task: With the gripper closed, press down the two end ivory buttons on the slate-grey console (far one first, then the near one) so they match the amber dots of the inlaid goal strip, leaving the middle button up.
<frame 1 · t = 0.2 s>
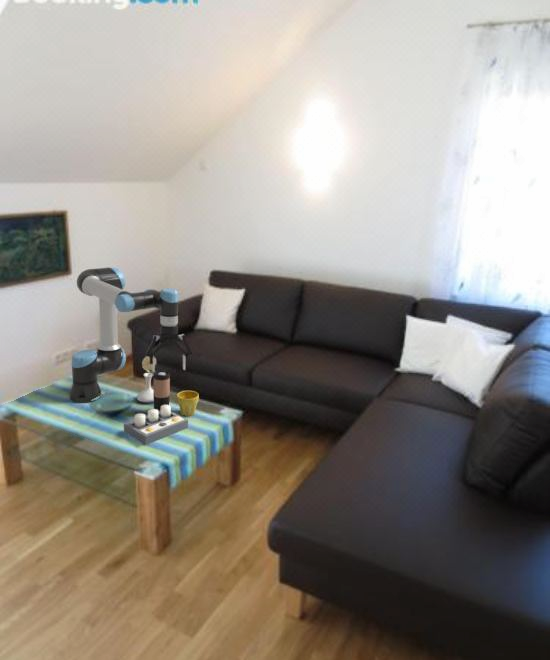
hand: (168, 369, 223), 26 cm above the table, fingers open, 13 cm apart
plant pot: (187, 413, 241), on the table
button 2: (153, 416, 222), point 6 cm above the table, slide at 0.0 cm
button 3: (165, 411, 228), point 6 cm above the table, slide at 0.0 cm
goal strip: (162, 433, 220), resting on console
console: (156, 429, 222), on the table
flower in vase: (149, 400, 252), on the table
button 1: (139, 420, 217), point 6 cm above the table, slide at 0.0 cm
travel mug: (161, 411, 241), on the table
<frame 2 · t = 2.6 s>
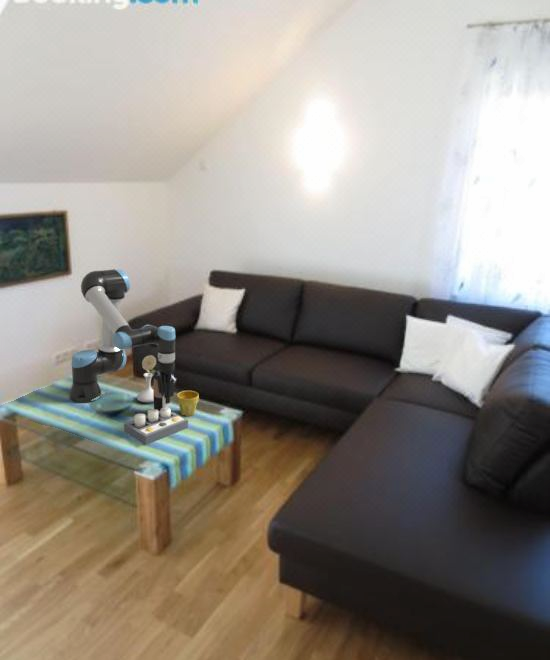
hand: (165, 409, 227), 7 cm above the table, fingers closed
button 3: (165, 414, 228), point 4 cm above the table, slide at 1.4 cm, touching gripper
everything else where it was.
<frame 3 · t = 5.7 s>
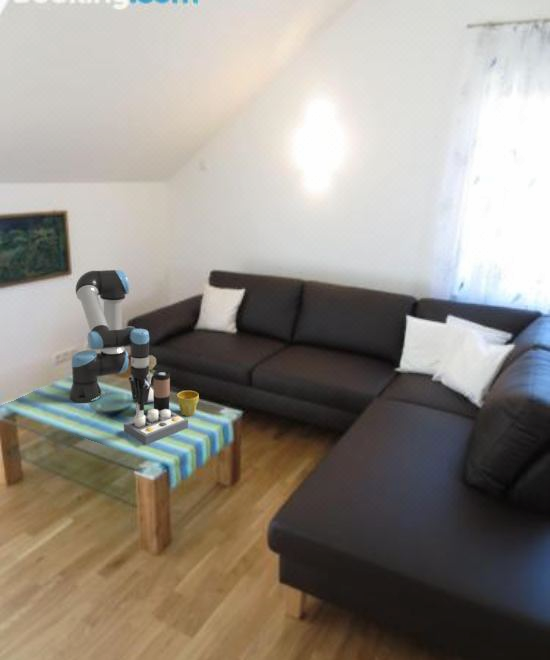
hand: (140, 416, 216), 8 cm above the table, fingers closed
button 3: (165, 416, 228), point 4 cm above the table, slide at 2.3 cm
button 1: (139, 421, 217), point 5 cm above the table, slide at 0.4 cm, touching gripper
everything else where it was.
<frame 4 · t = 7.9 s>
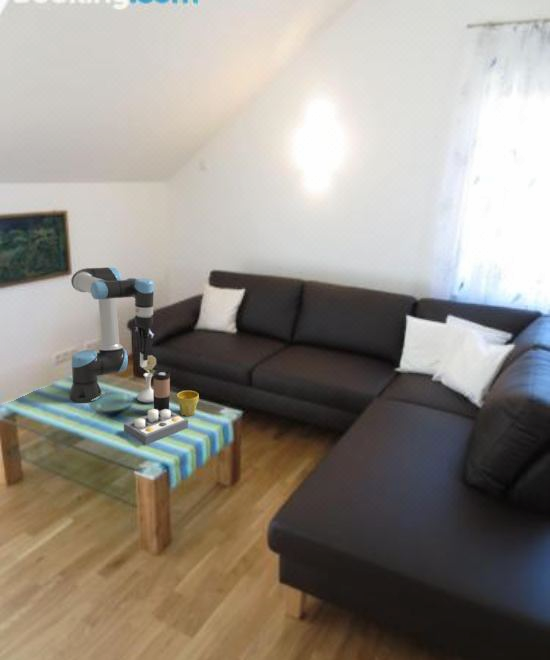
hand: (143, 366, 219), 28 cm above the table, fingers closed
button 1: (139, 425, 218), point 4 cm above the table, slide at 2.3 cm
everything else where it was.
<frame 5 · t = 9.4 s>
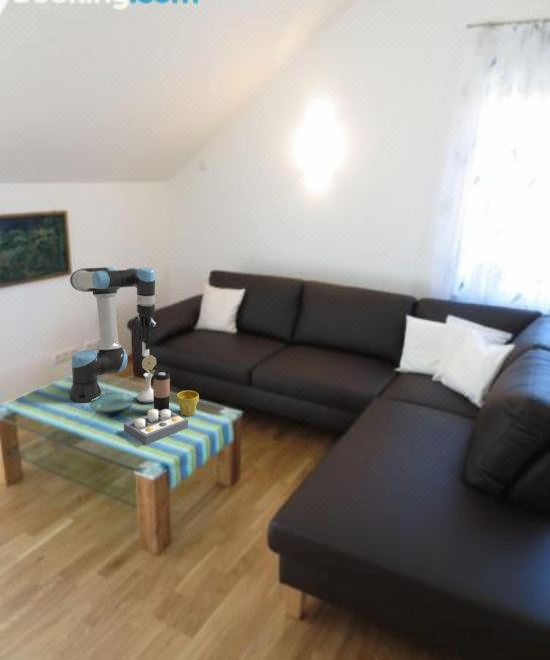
hand: (145, 355, 221), 32 cm above the table, fingers closed
nothing on the table moved.
at the end: button 3 slide at 2.3 cm; button 1 slide at 2.3 cm; button 2 slide at 0.0 cm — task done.
